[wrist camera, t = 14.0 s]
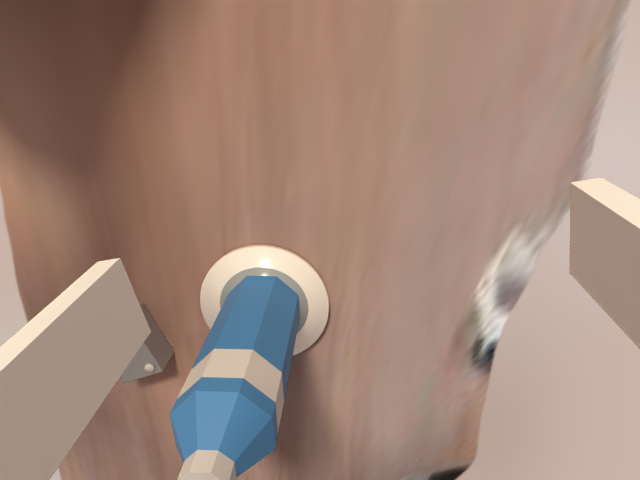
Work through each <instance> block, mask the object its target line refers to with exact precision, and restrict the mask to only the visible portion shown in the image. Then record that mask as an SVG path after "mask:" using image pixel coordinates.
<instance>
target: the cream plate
mask: <svg viewBox="0 0 640 480" xmlns="http://www.w3.org/2000/svg"><path fill="white" fill-rule="evenodd" d="M246 276H277V277H278V278H279V279H280V280H281V281H283V282H284V283H285V284H286V285H287V286H289V287H290V288H291V289H292V290H293V291H294V292H296V293H297V294H298V298H299V319H300V320H299V325H298V330H297V336H296V341H295V346H294V352H293V355H296V354H298V353H300V352H302V351H304V350H305V349H307V348H309V347H310V346H311V345H312V344H313V343H314V342H315V341H316V340H317V339H318V338H319V337H320V335H321V334H322V332H323V330H324V328H325V326H326V323H327V319H328V313H329V296H328V291H327V288H326V285H325V283H324V281H323V279H322V277H321V275H320V274H319V272H318V271H317V270H316V269H315V268H314V266H313V265H312V264H310V263H309V262H308V261H307V260H306V259H305V258H303V257H302V256H300V255H299V254H297V253H295V252H293V251H291V250H288V249H286V248H283V247H279V246H275V245H269V244H253V245H246V246H242V247H239V248H236V249H234V250H231V251H230V252H228V253H226V254H225V255H223V256H222V257H221V258H219V259H218V260H217V261H216V262H215V263H214V265H213V266H212V267H211V269H210V270H209V272H208V273H207V275H206V277H205V279H204V281H203V284H202V287H201V293H200V305H201V310H202V314H203V317H204V319H205V321H206V323H207V325H208V327H209V328H210V330H211V328H212V326H213V324H214V322H215V320H216V318H217V316H218V314H219V312H220V310H221V308H222V305H223V303H224V301H225V299H226V297H227V295H228V293H230V292H231V291H232V290H233V289H234V288H235V287H236V286H237V285H238V284H239V283H240V282H241V281H242V280H243V279H244V278H245V277H246Z"/></svg>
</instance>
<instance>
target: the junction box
mask: <svg viewBox="0 0 640 480" xmlns="http://www.w3.org/2000/svg"><path fill="white" fill-rule="evenodd" d="M140 306H141V309H142V311H143V314H144V316H145V318H146V321H147V323H148V326H149V328H150V330H151V333H150V334H149V335H148V337H147V338H146V340H145V341H144V343H143V344H142V346H141V347H140V349H139V350H138V351H137V353H136V354H135V356H134V357H133V359H132V360H131V362H130V363H129V365H128V366H127V368H126V369H125V370H124V372H123V373H122V375H121V376H120V379H121V380H122V382H123V383H127V382H130V381H133V380H136V379H140V378H143V377H146V376H149V375H153V374H156V373H159V372H162V371H163V370H164V369H165V367H166V365H167V363H168V362H169V360H170V358H171V356H172V355H173V353H174V350H173V349H172V347H171V346H170V344H169V343H168V341H167V339H166V338H165V336H164V335H163V333H162V332H161V330H160V328H159V327H158V325H157V324H156V322H155V321H154V319H153V317H152V316H151V314H150V313H149V311H148V310H147V308H146V307H145V305H144V304H142V305H140Z"/></svg>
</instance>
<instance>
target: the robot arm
mask: <svg viewBox="0 0 640 480" xmlns="http://www.w3.org/2000/svg"><path fill="white" fill-rule="evenodd" d="M570 274H571V275H572V276H573V277H574V278H575V279H576V280H577V281H578V283H579V284H580V285H581V286H582V287H583V288H584V289H585V290H586V291H587V292H588V293H589V294H590V296H591V297H592V298H593V299H594V300H595V301H596V302H597V303H598V304H599V305H600V306H601V308H602V309H603V310H604V311H605V312H606V313H607V314H608V315H609V316H610V317H611V318H612V319H613V320H614V322H615V323H616V324H617V325H618V326H619V327H620V328H621V329H622V330H623V331H624V332H625V334H627V336H628V337H629V338H630V339H631V340H632V341H633V342H634V343H635V344H636V345H637V347H638V348H639V349H640V199H638V198H637V197H635V196H633V195H631V194H629V193H628V192H626V191H624V190H622V189H620V188H619V187H617V186H615V185H613V184H612V183H609V182H608V181H606V180H605V179H603V178H596V179H590V180H584V181H578V182H572V183H571V194H570ZM150 333H151V330H150V328H149V326H148V323H147V321H146V318H145V316H144V314H143V311H142V309H141V306H140V304H139V302H138V299H137V297H136V295H135V292H134V290H133V287H132V285H131V283H130V280H129V278H128V275H127V273H126V271H125V268H124V266H123V264H122V261H121V259H120V258H117V259H111V260H105V261H99V262H97V263H95V264H94V265H93V266H92V267H91V268H90V269H89V270H87V271H86V272H85V273H84V274H83V275H82V276H81V277H79V278H78V279H77V280H76V281H75V282H74V283H73V284H72V285H70V286H69V287H68V288H67V289H66V290H65V291H64V292H62V293H61V294H60V295H59V296H58V297H57V298H56V299H54V300H53V301H52V302H51V303H50V304H49V305H48V306H46V307H45V308H44V309H43V310H42V311H41V312H40V313H39V314H37V315H36V316H35V317H34V318H33V319H32V320H31V321H29V322H28V323H27V324H26V325H25V326H24V327H23V328H22V329H20V330H19V331H18V332H17V333H16V334H15V335H14V336H12V337H11V338H10V339H9V340H8V341H7V342H6V343H5V344H3V345H2V346H1V347H0V480H50V478H51V477H52V476H53V474H54V473H55V471H56V470H57V468H58V467H59V465H60V464H61V462H62V461H63V459H64V458H65V457H66V455H67V454H68V452H69V451H70V449H71V448H72V446H73V445H74V443H75V442H76V441H77V439H78V438H79V436H80V435H81V433H82V432H83V430H84V429H85V427H86V426H87V424H88V423H89V422H90V420H91V419H92V417H93V416H94V414H95V413H96V411H97V410H98V408H99V407H100V405H101V404H102V403H103V401H104V400H105V398H106V397H107V395H108V394H109V392H110V391H111V389H112V388H113V387H114V385H115V384H116V382H117V381H118V379H119V378H120V376H121V375H122V373H123V372H124V370H125V369H126V368H127V366H128V365H129V363H130V362H131V360H132V359H133V357H134V356H135V354H136V353H137V351H138V350H139V349H140V347H141V346H142V344H143V343H144V341H145V340H146V338H147V337H148V335H149V334H150Z"/></svg>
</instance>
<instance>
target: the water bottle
mask: <svg viewBox="0 0 640 480" xmlns="http://www.w3.org/2000/svg"><path fill="white" fill-rule="evenodd" d="M299 320H300V319H299V298H298V294H297V293H296V292H294V291H293V290H292V289H291V288H290V287H289V286H287V285H286V284H285V283H284V282H283V281H281V280H280V279H279V278H278V277H277V276H246V277H245V278H244V279H243V280H242V281H241V282H240V283H239V284H238V285H237V286H236V287H235V288H234V289H233V290H232V291H231V292H230V293H228V295H227V297H226V299H225V301H224V303H223V305H222V308H221V310H220V312H219V314H218V316H217V318H216V320H215V322H214V324H213V326H212V328H211V330H210V332H209V334H208V336H207V338H206V340H205V342H204V344H203V347H202V349H201V351H200V353H199V355H198V357H197V359H196V361H195V363H194V365H193V367H192V369H191V371H190V373H189V375H188V377H187V379H186V381H185V383H184V386H183V388H182V390H181V392H180V394H179V396H178V398H177V400H176V402H175V404H174V406H173V408H172V410H171V412H170V417H171V422H172V427H173V432H174V437H175V442H176V446H177V448H178V451H179V453H180V456H181V458H182V461H183V463H184V464H183V466H182V469H181V471H180V474H179V476H178V479H177V480H236V477H237V476H239V475H240V474H242V473H243V472H245V471H246V470H247V469H249V468H250V467H251V466H253V465H254V464H255V463H257V462H258V461H260V460H261V459H262V458H264V457H265V456H266V455H268V454H269V453H270V452H272V451H273V450H274V449H275V447H276V441H277V436H278V431H279V426H280V420H281V415H282V410H283V404H284V399H285V394H286V389H287V383H288V378H289V373H290V367H291V362H292V357H293V352H294V346H295V341H296V336H297V330H298V325H299Z"/></svg>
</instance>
